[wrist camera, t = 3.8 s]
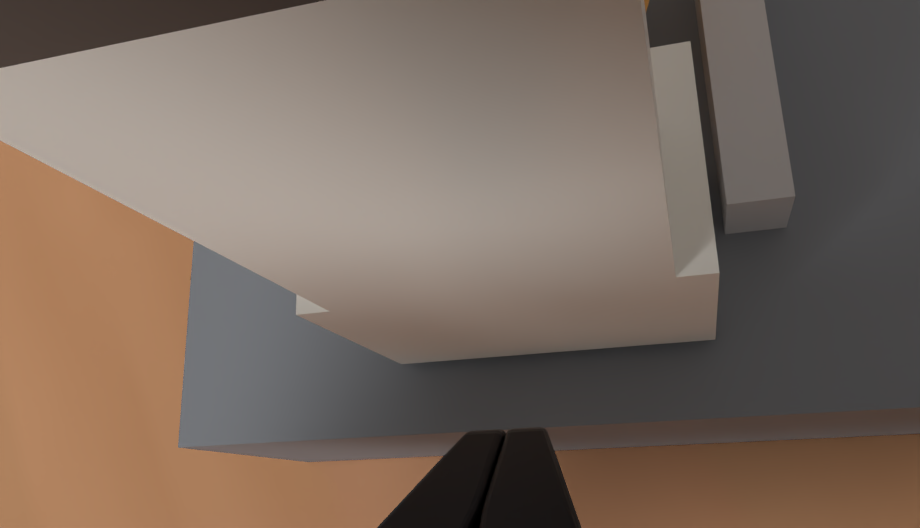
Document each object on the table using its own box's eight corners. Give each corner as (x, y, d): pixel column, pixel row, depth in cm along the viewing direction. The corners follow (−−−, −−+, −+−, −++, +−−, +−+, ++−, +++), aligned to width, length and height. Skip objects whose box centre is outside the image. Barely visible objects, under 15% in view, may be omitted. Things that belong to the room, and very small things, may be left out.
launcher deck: (953, 432, 14) (1106, 385, 8) (308, 461, 17) (127, 441, 12) (869, 22, 16) (949, -212, 11) (318, 115, 19) (172, -31, 14)
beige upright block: (715, 339, 11) (761, -350, 2) (401, 364, 12) (-406, -15, 3) (693, 165, 11) (661, -875, 3) (400, 204, 12) (-260, -448, 4)
